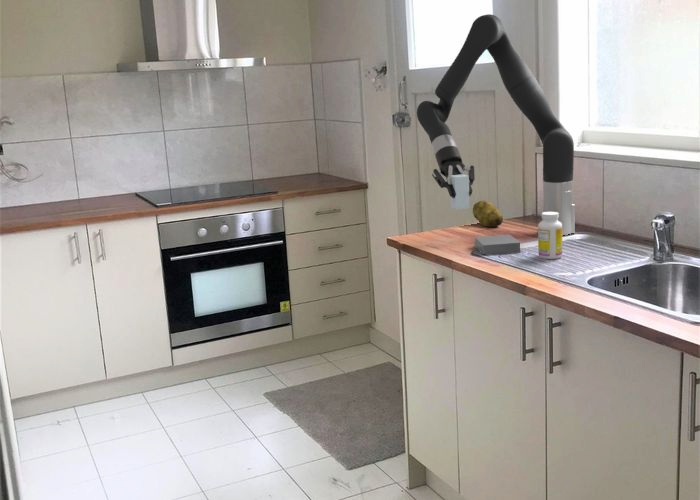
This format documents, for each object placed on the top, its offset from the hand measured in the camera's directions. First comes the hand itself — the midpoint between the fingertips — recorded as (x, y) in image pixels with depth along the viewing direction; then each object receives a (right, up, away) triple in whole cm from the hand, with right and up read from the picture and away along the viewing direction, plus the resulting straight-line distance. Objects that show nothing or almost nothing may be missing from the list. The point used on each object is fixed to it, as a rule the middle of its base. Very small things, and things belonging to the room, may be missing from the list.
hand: (462, 195), depth 239 cm
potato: (+13, -8, +31) cm, 35 cm away
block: (0, -4, +3) cm, 5 cm away
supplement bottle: (+23, -19, -15) cm, 34 cm away
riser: (+10, -17, -4) cm, 20 cm away
